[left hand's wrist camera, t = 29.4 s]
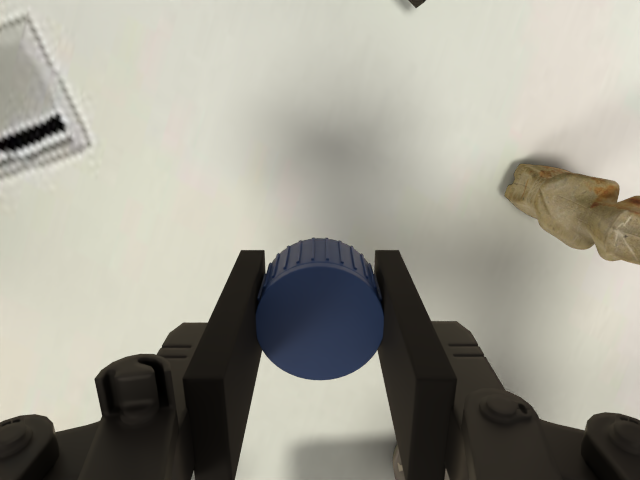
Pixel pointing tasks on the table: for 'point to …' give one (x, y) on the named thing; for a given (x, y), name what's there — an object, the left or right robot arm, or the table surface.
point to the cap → (319, 310)
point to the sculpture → (579, 210)
